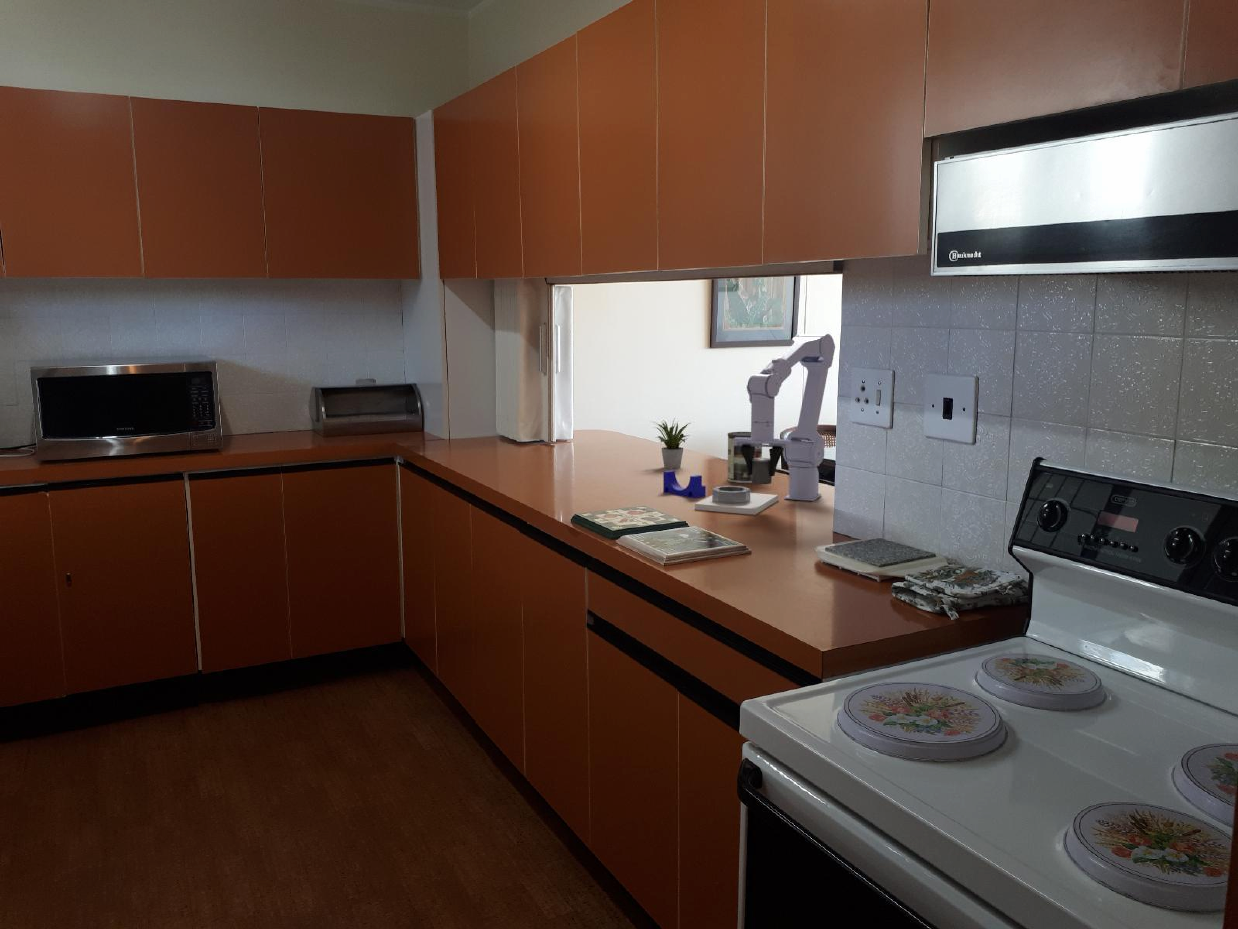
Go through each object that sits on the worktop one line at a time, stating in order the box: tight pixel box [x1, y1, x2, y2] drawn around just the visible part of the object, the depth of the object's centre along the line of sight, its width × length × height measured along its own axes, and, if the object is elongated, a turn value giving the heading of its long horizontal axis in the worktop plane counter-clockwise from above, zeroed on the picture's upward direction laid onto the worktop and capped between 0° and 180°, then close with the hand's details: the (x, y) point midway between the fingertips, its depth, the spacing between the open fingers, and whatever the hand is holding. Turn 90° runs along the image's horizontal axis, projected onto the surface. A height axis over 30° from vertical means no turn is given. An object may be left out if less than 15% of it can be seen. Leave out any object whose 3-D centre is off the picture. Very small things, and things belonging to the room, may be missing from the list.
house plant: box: [649, 417, 693, 469], centre depth 318 cm, size 14×14×16 cm
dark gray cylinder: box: [751, 457, 773, 485], centre depth 251 cm, size 5×5×6 cm
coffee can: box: [726, 431, 763, 484], centre depth 294 cm, size 10×10×14 cm
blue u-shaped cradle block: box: [662, 469, 707, 499], centre depth 274 cm, size 12×4×6 cm, turn 41°
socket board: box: [694, 485, 779, 516], centre depth 259 cm, size 20×16×4 cm
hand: (761, 475), depth 252 cm, fingers closed on dark gray cylinder, 5 cm apart
